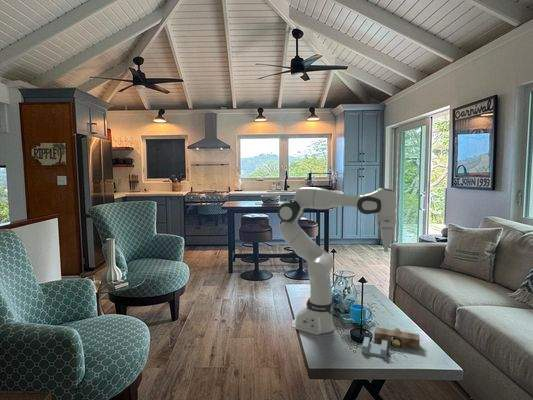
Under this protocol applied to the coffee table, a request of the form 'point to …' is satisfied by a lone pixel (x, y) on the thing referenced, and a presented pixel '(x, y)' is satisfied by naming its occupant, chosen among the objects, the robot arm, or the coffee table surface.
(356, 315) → the mug
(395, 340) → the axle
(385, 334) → the beam
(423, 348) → the coffee table surface
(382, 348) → the cradle
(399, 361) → the coffee table surface
